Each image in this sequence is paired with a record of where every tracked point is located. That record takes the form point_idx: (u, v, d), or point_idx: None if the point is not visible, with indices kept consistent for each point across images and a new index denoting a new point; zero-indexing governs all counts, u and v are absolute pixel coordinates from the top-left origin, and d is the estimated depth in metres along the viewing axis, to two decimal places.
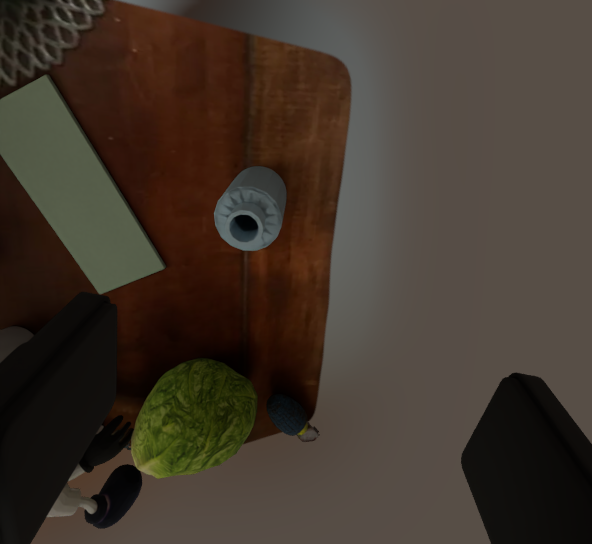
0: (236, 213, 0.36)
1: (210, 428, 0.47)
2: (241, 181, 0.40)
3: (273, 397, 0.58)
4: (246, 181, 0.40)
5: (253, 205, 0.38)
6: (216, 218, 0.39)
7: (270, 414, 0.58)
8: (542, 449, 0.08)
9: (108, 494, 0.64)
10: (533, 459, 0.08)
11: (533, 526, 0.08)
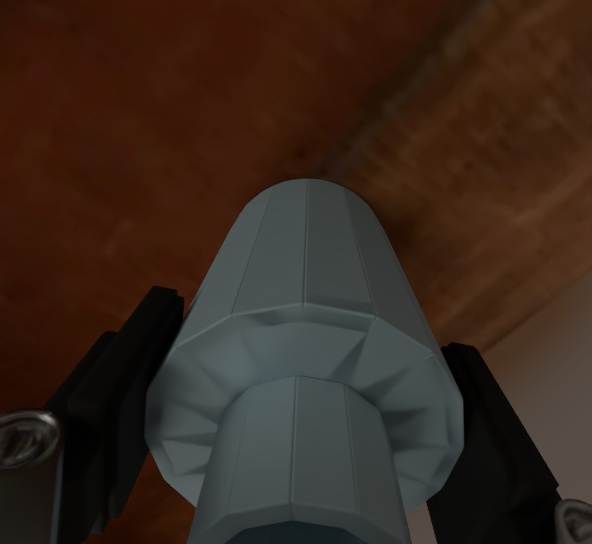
0: (321, 515, 0.05)
1: None
2: (357, 261, 0.09)
3: None
4: (378, 276, 0.09)
5: (384, 436, 0.07)
6: (171, 370, 0.08)
7: None
8: (465, 407, 0.08)
9: None
10: None
11: (455, 477, 0.08)
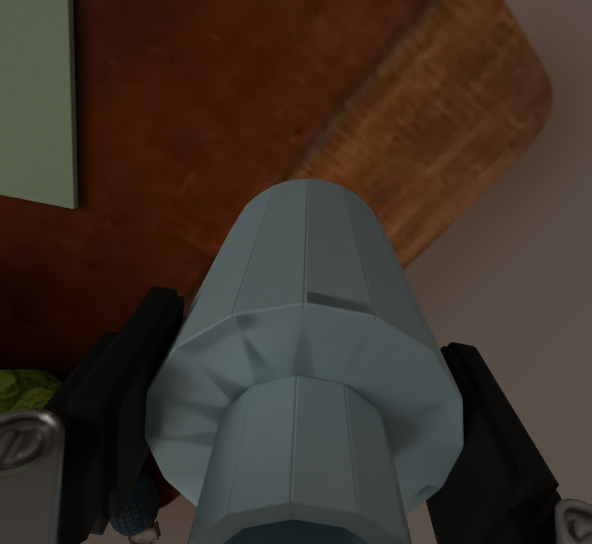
0: (321, 514, 0.05)
1: None
2: (357, 262, 0.09)
3: None
4: (378, 276, 0.09)
5: (384, 436, 0.07)
6: (172, 370, 0.08)
7: None
8: (465, 407, 0.08)
9: None
10: None
11: (455, 477, 0.08)
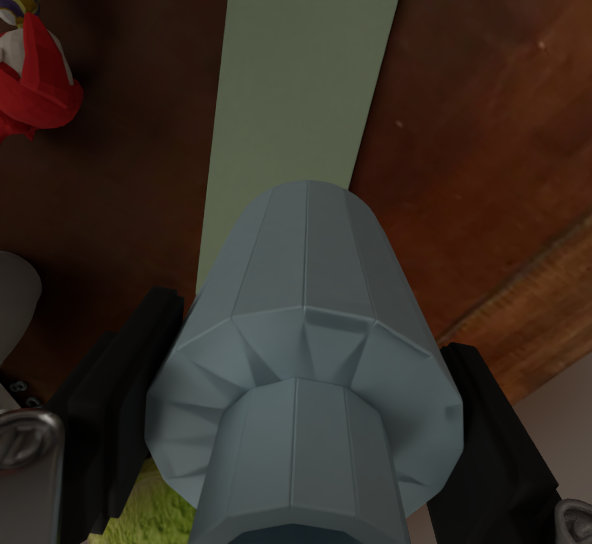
0: (321, 518, 0.05)
1: None
2: (357, 264, 0.09)
3: None
4: (378, 278, 0.09)
5: (384, 438, 0.07)
6: (171, 372, 0.08)
7: None
8: (465, 407, 0.08)
9: None
10: None
11: (455, 477, 0.08)
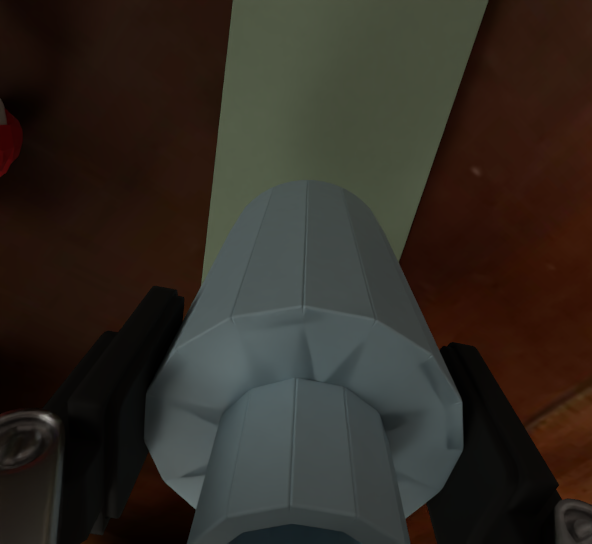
0: (321, 518, 0.05)
1: None
2: (356, 264, 0.09)
3: None
4: (377, 278, 0.09)
5: (384, 438, 0.07)
6: (171, 373, 0.08)
7: None
8: (465, 407, 0.08)
9: None
10: None
11: (455, 477, 0.08)
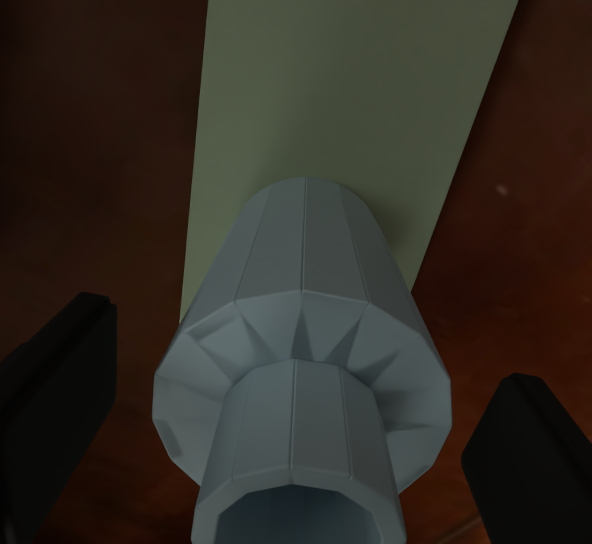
0: (318, 478, 0.06)
1: None
2: (352, 253, 0.09)
3: None
4: (372, 267, 0.09)
5: (377, 414, 0.08)
6: (178, 354, 0.08)
7: None
8: (542, 449, 0.08)
9: None
10: (533, 459, 0.08)
11: (533, 526, 0.08)
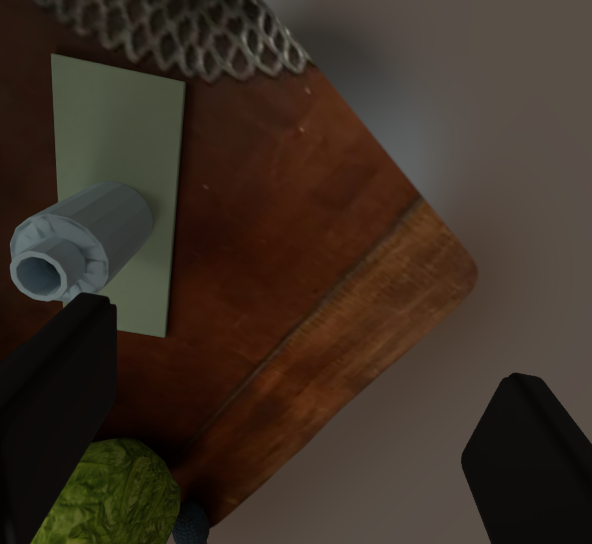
0: (37, 254, 0.25)
1: None
2: (82, 207, 0.28)
3: (188, 506, 0.50)
4: (88, 211, 0.28)
5: (74, 251, 0.27)
6: (16, 235, 0.27)
7: (175, 524, 0.49)
8: (542, 449, 0.08)
9: None
10: (533, 459, 0.08)
11: (533, 526, 0.08)
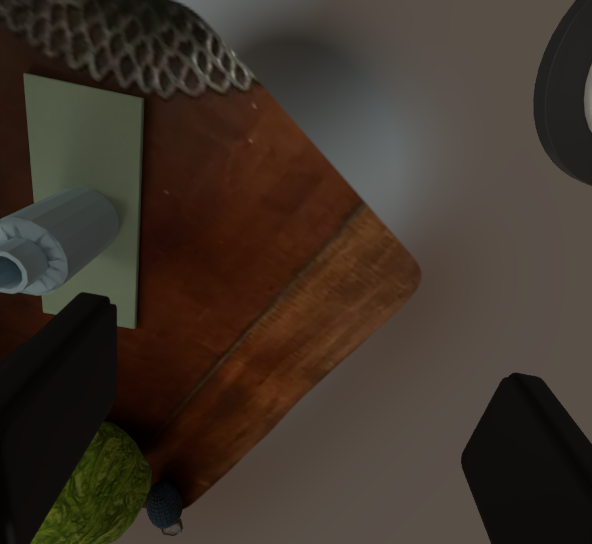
0: (0, 253, 0.28)
1: (93, 527, 0.41)
2: (46, 211, 0.32)
3: (161, 486, 0.54)
4: (51, 215, 0.32)
5: (35, 250, 0.30)
6: None
7: (149, 502, 0.53)
8: (542, 449, 0.08)
9: None
10: (533, 459, 0.08)
11: (533, 526, 0.08)
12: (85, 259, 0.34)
